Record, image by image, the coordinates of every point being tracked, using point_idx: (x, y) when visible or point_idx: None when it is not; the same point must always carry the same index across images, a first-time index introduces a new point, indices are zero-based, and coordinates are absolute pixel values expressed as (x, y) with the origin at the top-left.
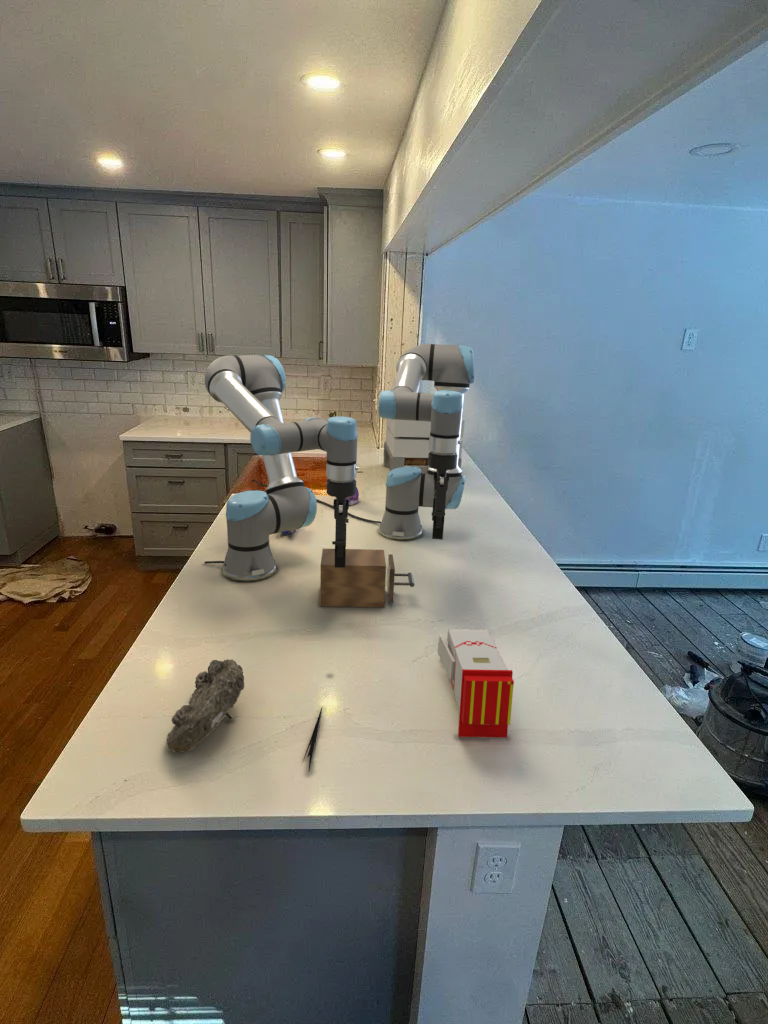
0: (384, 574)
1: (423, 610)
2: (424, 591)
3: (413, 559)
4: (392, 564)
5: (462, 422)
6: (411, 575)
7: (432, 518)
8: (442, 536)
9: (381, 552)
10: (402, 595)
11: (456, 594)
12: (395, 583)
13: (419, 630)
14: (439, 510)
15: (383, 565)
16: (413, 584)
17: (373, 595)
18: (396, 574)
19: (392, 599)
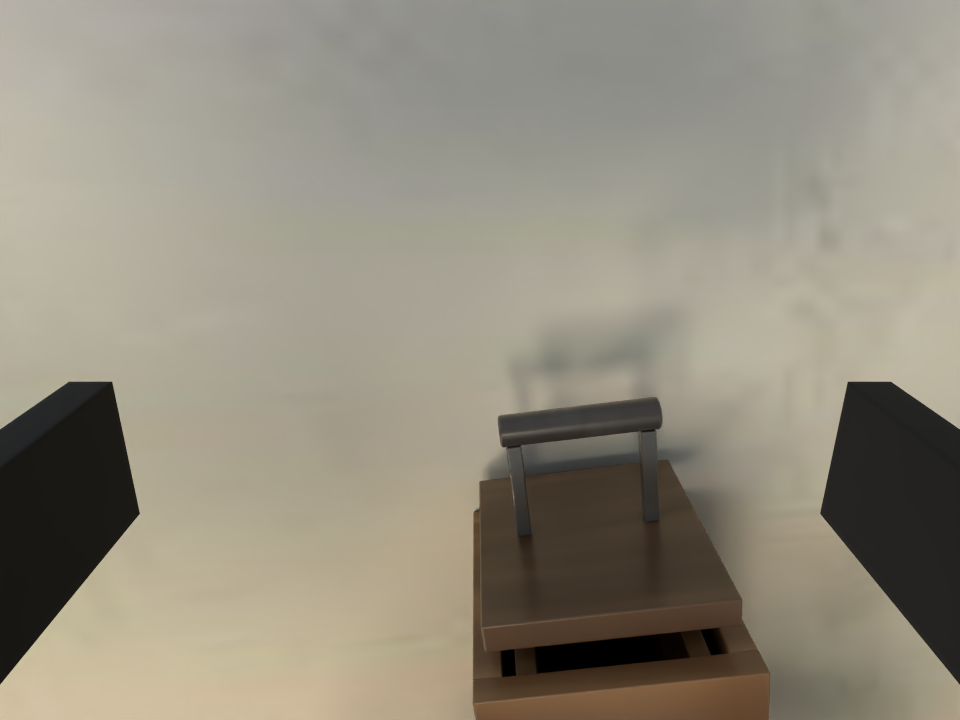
0: (745, 629)
1: (700, 289)
2: (465, 286)
3: (18, 363)
4: (668, 618)
5: None
6: (546, 426)
7: (120, 528)
8: (915, 405)
9: (528, 714)
10: (534, 407)
11: (472, 73)
12: (658, 510)
13: (915, 307)
14: (9, 528)
15: (763, 688)
16: (659, 405)
17: None
18: (528, 511)
19: (673, 472)
